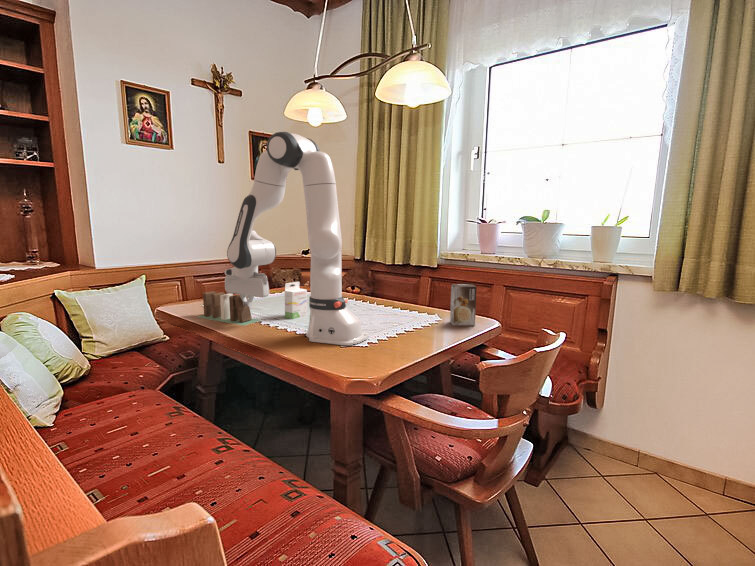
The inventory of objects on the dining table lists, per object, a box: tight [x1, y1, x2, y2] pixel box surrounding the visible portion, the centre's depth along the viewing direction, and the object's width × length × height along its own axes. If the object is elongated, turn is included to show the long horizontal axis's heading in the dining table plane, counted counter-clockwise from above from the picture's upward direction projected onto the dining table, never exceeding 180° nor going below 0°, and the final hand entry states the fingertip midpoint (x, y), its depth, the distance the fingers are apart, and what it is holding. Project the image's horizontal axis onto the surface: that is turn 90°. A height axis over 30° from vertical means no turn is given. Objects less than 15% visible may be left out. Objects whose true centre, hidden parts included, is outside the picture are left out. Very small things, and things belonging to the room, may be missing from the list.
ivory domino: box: [220, 293, 234, 320], centre depth 163 cm, size 2×5×10 cm, turn 153°
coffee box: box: [449, 283, 478, 326], centre depth 162 cm, size 9×6×16 cm
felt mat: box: [197, 314, 262, 327], centre depth 164 cm, size 27×10×1 cm, turn 63°
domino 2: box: [211, 291, 225, 318], centre depth 166 cm, size 2×5×10 cm, turn 153°
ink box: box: [284, 281, 308, 320], centre depth 169 cm, size 9×5×15 cm, turn 143°
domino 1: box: [202, 290, 217, 317], centre depth 168 cm, size 2×5×10 cm, turn 153°
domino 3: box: [229, 294, 240, 321], centre depth 161 cm, size 2×5×10 cm, turn 153°
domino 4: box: [234, 297, 253, 323], centre depth 160 cm, size 2×5×10 cm, turn 153°
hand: (247, 305), depth 158 cm, fingers closed
